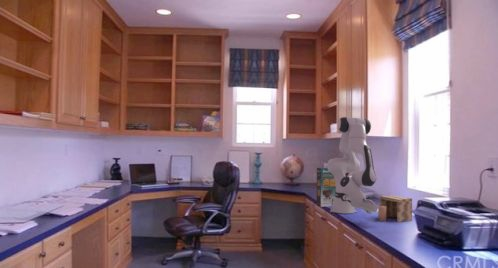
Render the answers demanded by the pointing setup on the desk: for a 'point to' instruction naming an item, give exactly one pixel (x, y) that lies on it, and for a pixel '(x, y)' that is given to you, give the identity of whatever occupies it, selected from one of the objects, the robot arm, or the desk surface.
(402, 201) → the wooden shelf
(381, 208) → the peach rounded capsule
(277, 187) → the desk surface
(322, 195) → the cake mix box
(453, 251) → the desk surface
